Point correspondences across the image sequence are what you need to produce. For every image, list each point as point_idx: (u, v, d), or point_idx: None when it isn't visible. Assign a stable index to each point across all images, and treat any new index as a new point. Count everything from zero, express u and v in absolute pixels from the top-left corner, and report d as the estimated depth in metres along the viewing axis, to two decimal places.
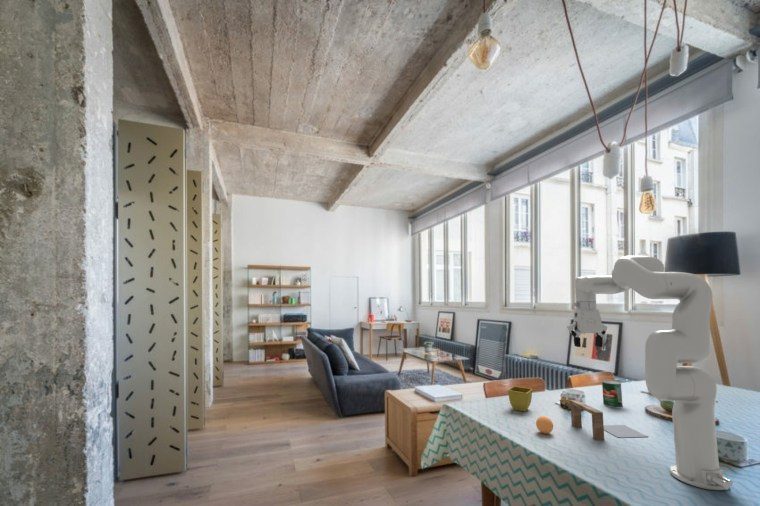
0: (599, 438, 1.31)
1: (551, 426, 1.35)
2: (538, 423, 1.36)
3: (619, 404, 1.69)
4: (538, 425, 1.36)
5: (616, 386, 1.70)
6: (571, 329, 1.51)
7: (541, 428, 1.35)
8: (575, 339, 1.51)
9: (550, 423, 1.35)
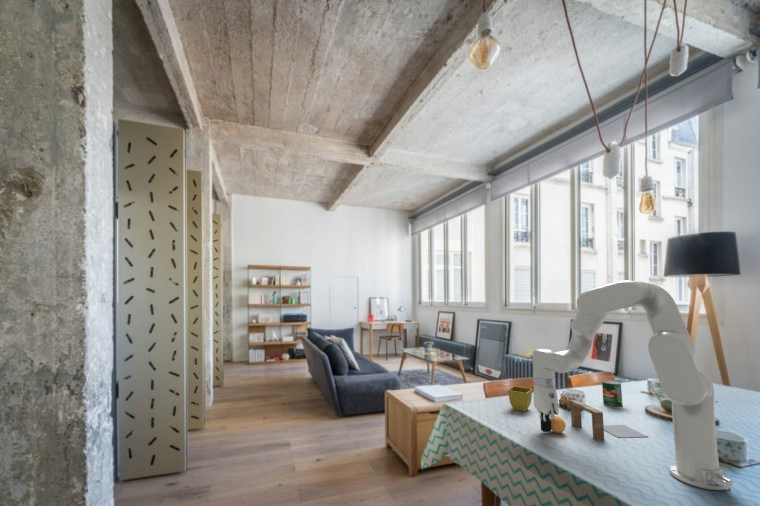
0: (599, 438, 1.31)
1: (562, 429, 1.35)
2: (558, 416, 1.38)
3: (619, 404, 1.69)
4: (556, 417, 1.38)
5: (616, 386, 1.70)
6: None
7: (556, 419, 1.36)
8: (548, 424, 1.36)
9: (564, 428, 1.36)
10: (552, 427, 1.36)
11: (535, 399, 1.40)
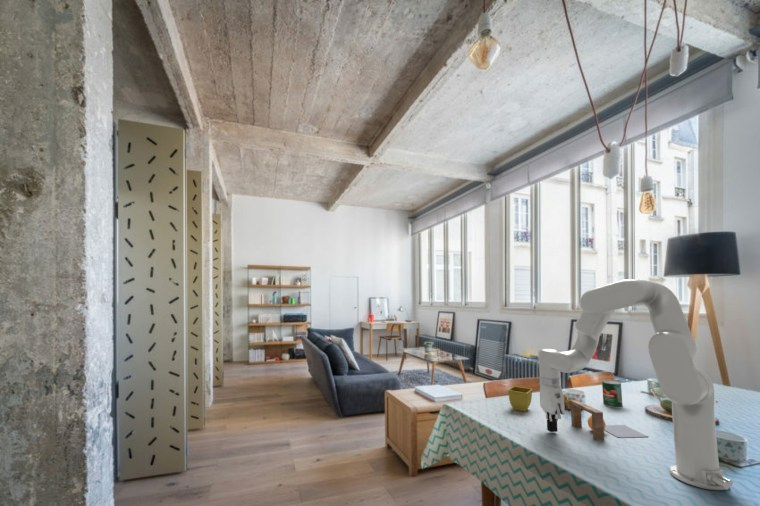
0: (599, 438, 1.31)
1: (604, 426, 1.37)
2: None
3: (619, 404, 1.69)
4: (591, 419, 1.39)
5: (616, 386, 1.70)
6: None
7: None
8: (554, 424, 1.36)
9: (604, 423, 1.37)
10: None
11: (541, 399, 1.41)
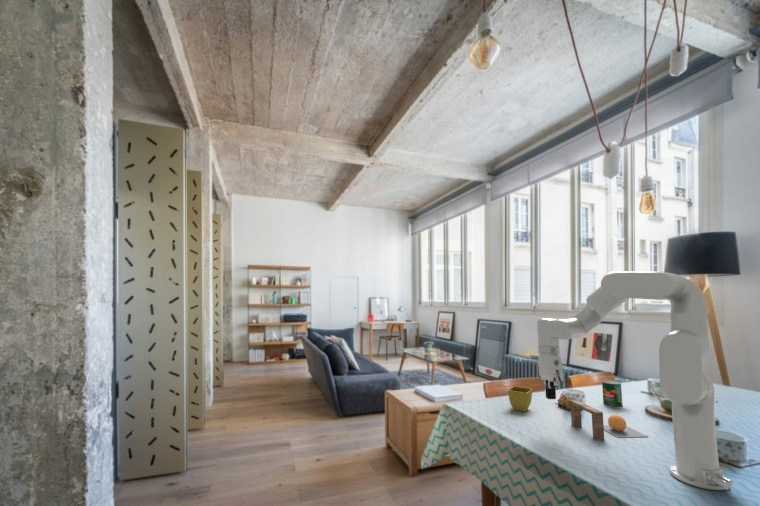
0: (599, 438, 1.31)
1: (619, 425, 1.37)
2: None
3: (619, 404, 1.69)
4: None
5: (616, 386, 1.70)
6: None
7: None
8: (553, 391, 1.37)
9: (618, 428, 1.37)
10: (619, 417, 1.39)
11: (540, 367, 1.42)
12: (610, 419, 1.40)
